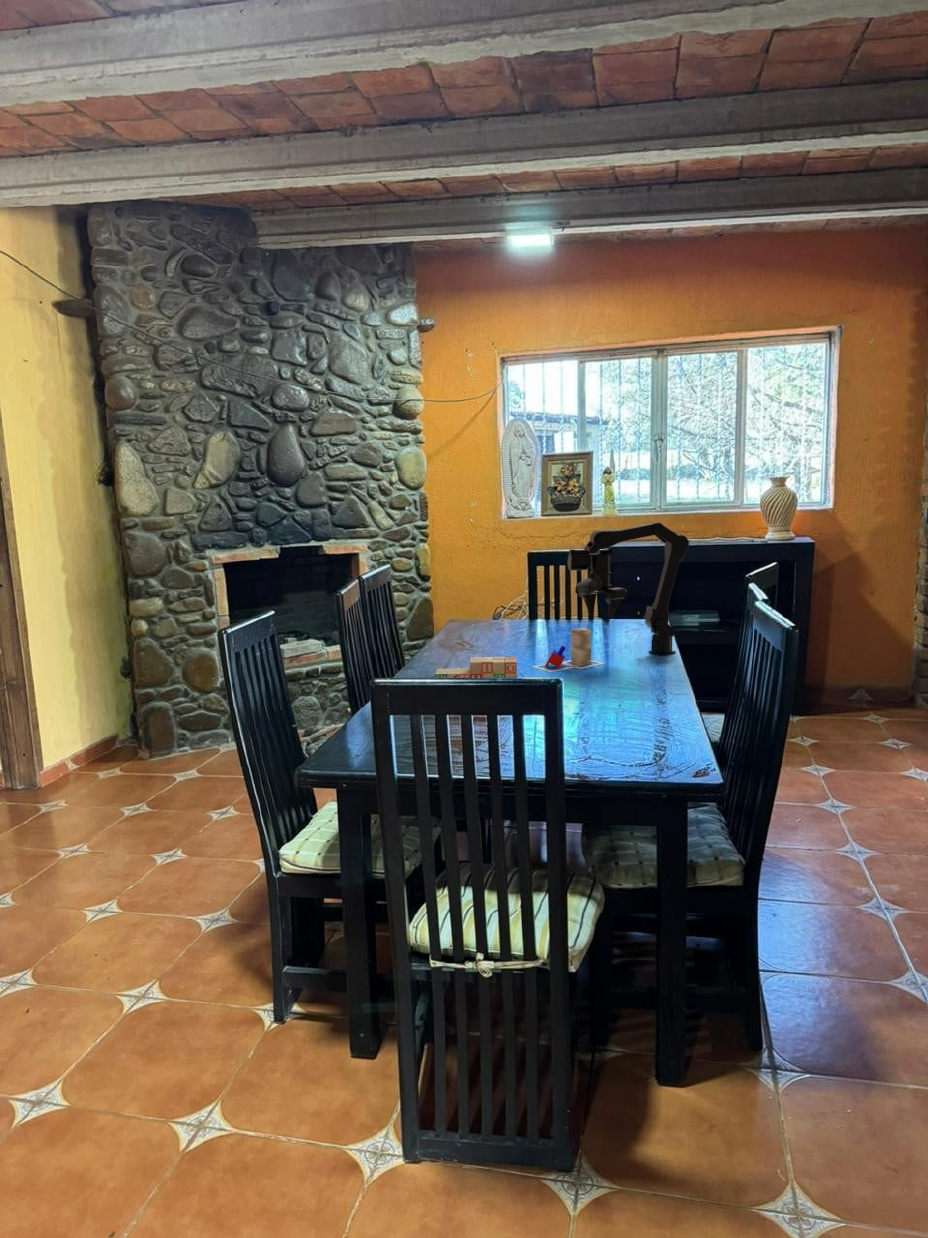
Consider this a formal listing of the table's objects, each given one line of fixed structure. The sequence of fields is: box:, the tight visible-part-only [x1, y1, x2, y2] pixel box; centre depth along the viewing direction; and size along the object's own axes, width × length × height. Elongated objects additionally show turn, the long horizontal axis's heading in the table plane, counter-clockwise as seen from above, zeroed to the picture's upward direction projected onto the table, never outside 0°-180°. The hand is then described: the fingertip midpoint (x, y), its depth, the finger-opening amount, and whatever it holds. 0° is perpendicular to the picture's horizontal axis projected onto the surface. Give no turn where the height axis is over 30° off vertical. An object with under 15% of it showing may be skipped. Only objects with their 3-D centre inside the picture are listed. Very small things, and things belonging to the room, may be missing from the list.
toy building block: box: [544, 645, 567, 669], centre depth 252 cm, size 4×4×8 cm
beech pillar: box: [570, 627, 592, 667], centre depth 255 cm, size 4×4×11 cm
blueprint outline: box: [531, 659, 606, 673], centre depth 254 cm, size 20×12×1 cm, turn 123°
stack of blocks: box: [435, 656, 518, 679], centre depth 213 cm, size 21×6×12 cm, turn 86°
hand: (600, 617), depth 263 cm, fingers open, 9 cm apart
